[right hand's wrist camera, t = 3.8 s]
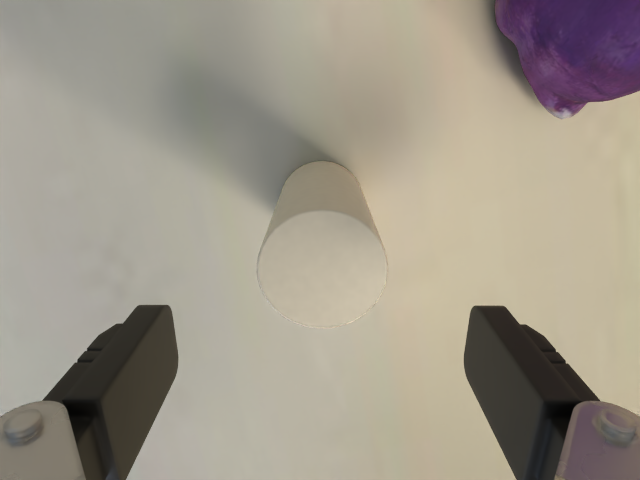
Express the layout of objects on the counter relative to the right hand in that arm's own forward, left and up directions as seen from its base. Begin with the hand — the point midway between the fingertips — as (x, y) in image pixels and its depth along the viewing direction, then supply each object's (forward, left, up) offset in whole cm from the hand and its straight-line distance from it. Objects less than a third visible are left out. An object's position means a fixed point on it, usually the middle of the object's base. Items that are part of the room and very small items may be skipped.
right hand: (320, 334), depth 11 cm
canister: (0, 0, -14) cm, 14 cm away
